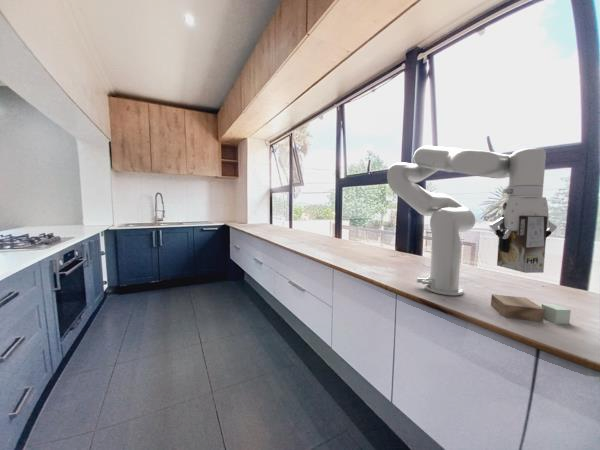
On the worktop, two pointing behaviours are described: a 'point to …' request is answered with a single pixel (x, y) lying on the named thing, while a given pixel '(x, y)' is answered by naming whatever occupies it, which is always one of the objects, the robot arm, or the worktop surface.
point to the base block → (517, 307)
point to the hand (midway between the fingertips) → (519, 252)
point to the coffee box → (526, 246)
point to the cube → (556, 313)
